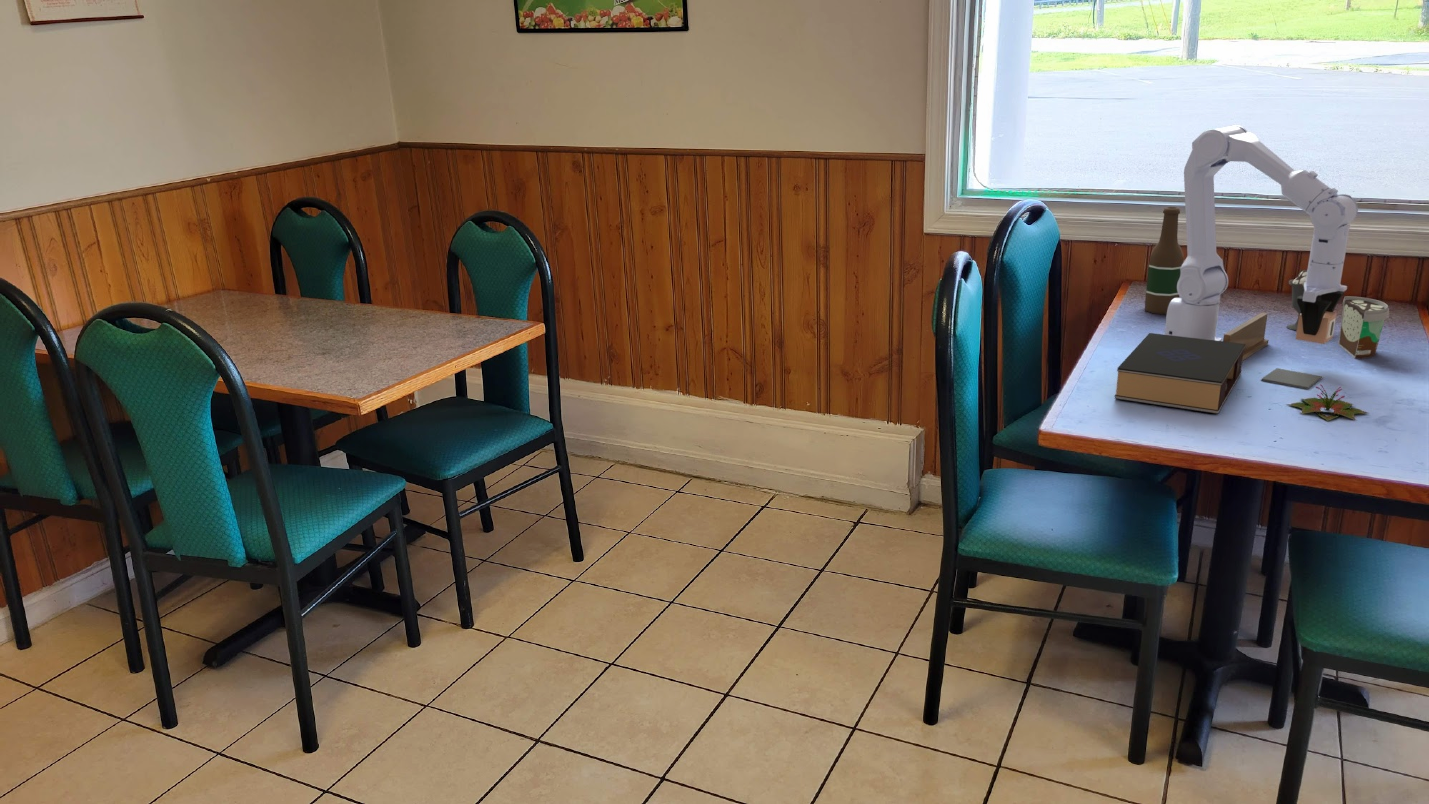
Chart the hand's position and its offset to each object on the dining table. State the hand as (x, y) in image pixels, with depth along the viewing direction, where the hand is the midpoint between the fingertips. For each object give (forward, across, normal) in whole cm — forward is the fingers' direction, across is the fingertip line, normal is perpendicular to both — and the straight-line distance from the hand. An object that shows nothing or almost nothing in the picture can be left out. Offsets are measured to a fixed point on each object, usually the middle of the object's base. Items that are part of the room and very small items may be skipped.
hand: (1314, 330), depth 200 cm
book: (+8, -27, +14) cm, 31 cm away
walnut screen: (+7, 0, +12) cm, 14 cm away
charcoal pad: (+7, -10, 0) cm, 12 cm away
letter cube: (+2, 0, 0) cm, 2 cm away
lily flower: (+8, -23, -10) cm, 26 cm away
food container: (+7, +16, -5) cm, 18 cm away
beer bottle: (+8, +23, +39) cm, 46 cm away
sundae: (+7, +26, +10) cm, 29 cm away
